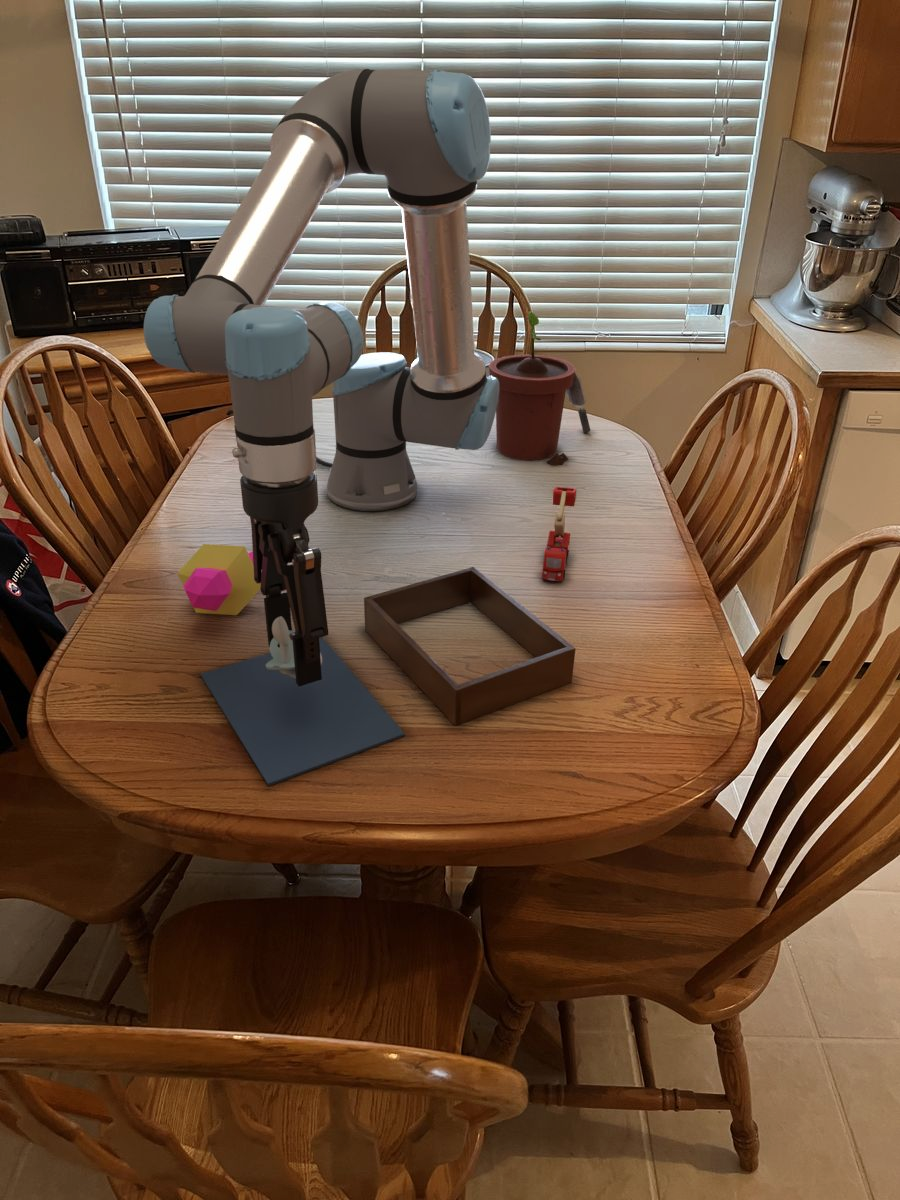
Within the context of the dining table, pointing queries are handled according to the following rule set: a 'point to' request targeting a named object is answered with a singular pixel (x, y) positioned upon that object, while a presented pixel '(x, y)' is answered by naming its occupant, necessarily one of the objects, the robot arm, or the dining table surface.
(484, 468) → the dining table surface
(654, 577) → the dining table surface
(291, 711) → the mat
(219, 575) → the toy
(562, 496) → the toy fire truck
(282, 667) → the pacifier
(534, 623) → the open box
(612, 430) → the dining table surface
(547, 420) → the potted plant
